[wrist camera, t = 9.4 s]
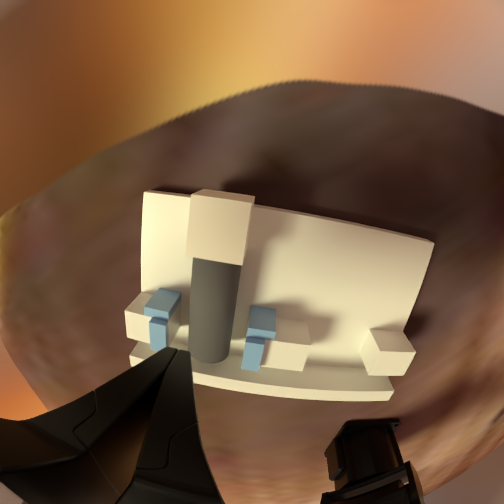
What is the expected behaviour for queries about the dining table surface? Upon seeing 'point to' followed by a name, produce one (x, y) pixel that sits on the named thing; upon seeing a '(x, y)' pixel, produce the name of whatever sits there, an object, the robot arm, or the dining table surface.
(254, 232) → the backplate with stepped blocks
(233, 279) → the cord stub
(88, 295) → the dining table surface
